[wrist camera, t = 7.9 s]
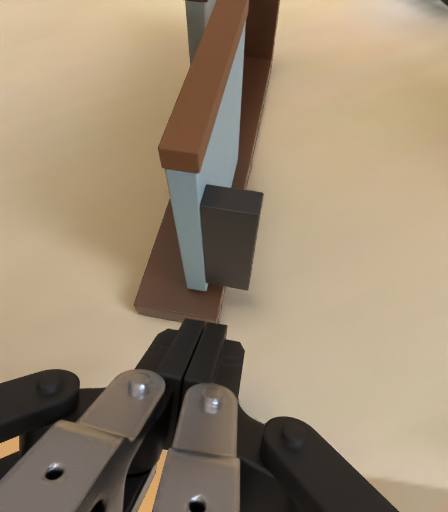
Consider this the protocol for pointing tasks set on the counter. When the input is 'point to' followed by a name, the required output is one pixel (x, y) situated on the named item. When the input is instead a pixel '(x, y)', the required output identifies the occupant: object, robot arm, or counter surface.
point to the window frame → (252, 100)
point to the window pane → (212, 159)
